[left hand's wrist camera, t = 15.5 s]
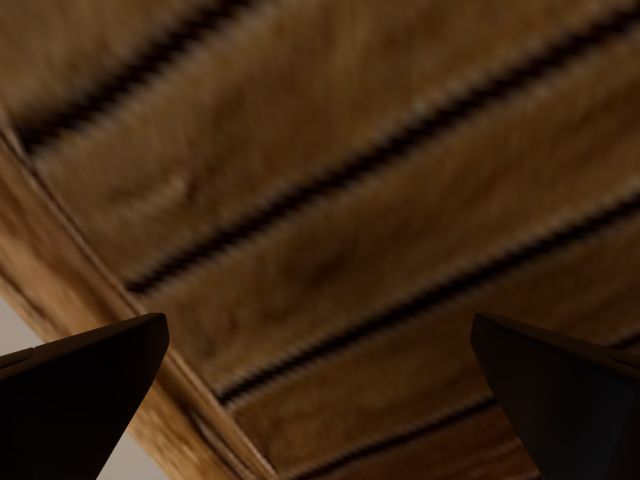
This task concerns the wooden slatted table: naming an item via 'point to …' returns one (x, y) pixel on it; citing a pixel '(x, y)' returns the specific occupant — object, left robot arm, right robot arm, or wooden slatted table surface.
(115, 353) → the left robot arm
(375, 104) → the wooden slatted table surface
